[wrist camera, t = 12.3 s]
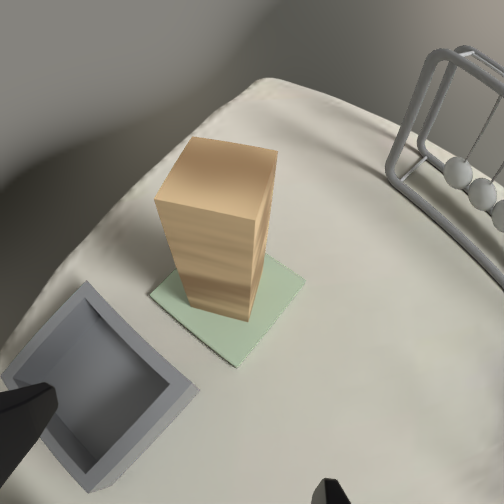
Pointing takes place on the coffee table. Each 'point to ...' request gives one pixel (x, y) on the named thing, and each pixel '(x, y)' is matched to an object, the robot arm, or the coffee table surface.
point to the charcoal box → (99, 388)
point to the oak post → (219, 222)
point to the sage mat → (228, 329)
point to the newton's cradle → (456, 167)
